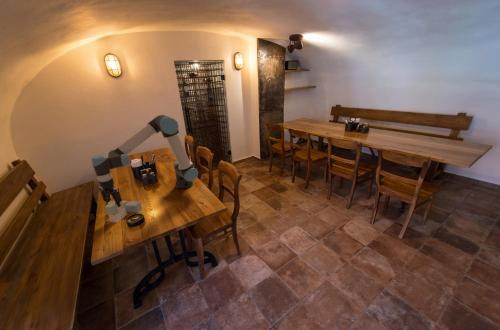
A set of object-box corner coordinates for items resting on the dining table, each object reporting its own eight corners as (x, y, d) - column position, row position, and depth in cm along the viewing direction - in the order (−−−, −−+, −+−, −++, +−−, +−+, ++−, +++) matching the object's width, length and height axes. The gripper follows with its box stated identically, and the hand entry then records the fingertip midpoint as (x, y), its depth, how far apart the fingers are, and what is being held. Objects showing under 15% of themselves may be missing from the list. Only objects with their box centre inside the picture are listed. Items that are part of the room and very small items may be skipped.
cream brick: (127, 214, 146) (124, 207, 143) (116, 222, 138) (114, 215, 135) (121, 214, 147) (118, 206, 144) (110, 221, 139) (108, 214, 136)
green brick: (124, 207, 143) (121, 199, 141) (113, 215, 135) (111, 207, 133) (118, 206, 144) (115, 199, 142) (107, 214, 136) (104, 206, 134)
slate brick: (142, 208, 152) (140, 201, 149) (137, 212, 147) (135, 205, 145) (131, 208, 153) (129, 201, 151) (126, 212, 149) (124, 205, 146)
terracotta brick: (130, 207, 154) (128, 200, 151) (125, 211, 149) (122, 204, 147) (120, 206, 156) (117, 199, 153) (114, 210, 151) (112, 203, 149)
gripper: (122, 177, 132) (131, 208, 141) (99, 176, 136) (109, 205, 145) (112, 183, 125) (122, 214, 134) (88, 181, 129) (100, 212, 138)
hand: (116, 210), depth 139 cm, fingers closed on green brick, 5 cm apart
